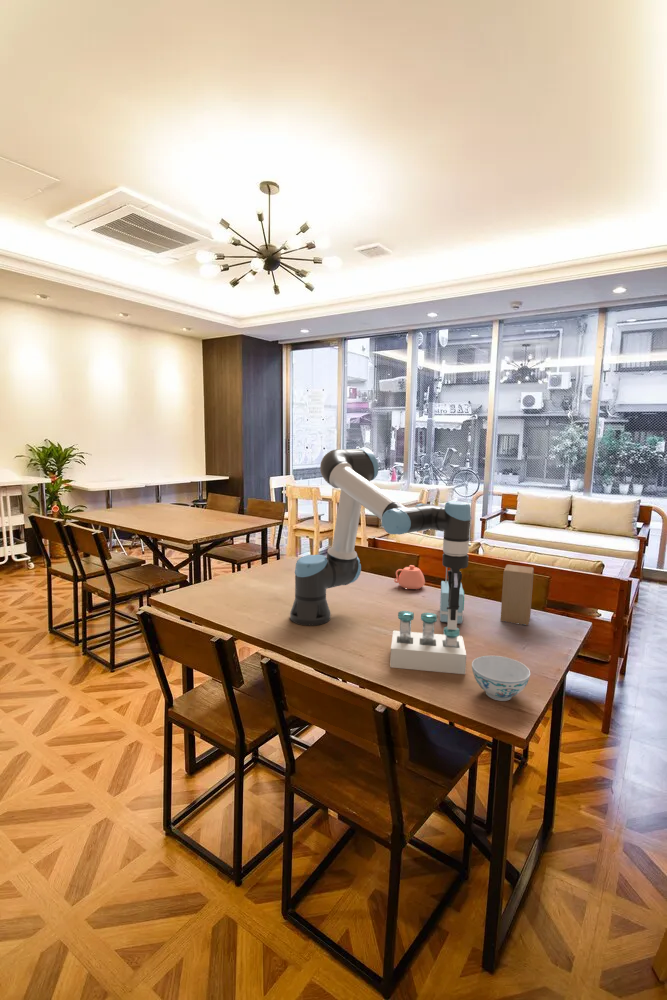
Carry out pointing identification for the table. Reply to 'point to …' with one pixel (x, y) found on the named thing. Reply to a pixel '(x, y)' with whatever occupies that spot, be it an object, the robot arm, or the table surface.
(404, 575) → the pink teapot
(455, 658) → the mount
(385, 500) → the robot arm
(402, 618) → the knob
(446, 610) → the radio
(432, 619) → the knob mid
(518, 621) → the wooden block
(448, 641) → the knob
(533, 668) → the table surface
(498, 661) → the chinaware
